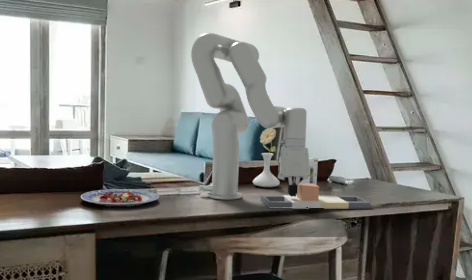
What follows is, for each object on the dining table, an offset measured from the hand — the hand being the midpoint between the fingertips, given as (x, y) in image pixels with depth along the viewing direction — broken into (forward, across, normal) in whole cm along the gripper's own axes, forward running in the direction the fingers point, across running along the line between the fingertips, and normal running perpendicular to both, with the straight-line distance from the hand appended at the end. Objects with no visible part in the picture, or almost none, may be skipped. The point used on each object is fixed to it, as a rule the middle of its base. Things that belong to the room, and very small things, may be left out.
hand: (292, 195), depth 184 cm
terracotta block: (+1, +6, 0) cm, 6 cm away
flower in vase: (+3, -1, +36) cm, 36 cm away
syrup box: (+3, +11, +19) cm, 22 cm away
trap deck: (+3, +8, 0) cm, 9 cm away
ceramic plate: (+3, -59, +4) cm, 59 cm away
